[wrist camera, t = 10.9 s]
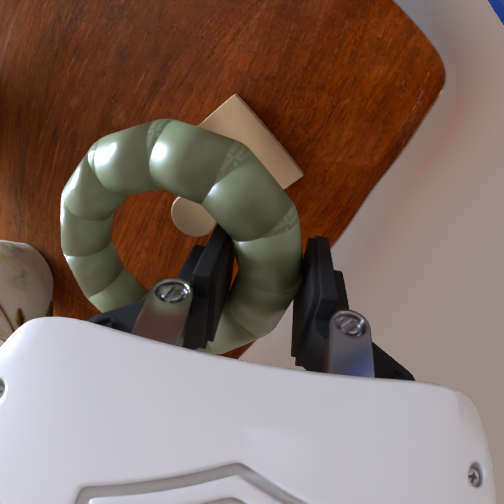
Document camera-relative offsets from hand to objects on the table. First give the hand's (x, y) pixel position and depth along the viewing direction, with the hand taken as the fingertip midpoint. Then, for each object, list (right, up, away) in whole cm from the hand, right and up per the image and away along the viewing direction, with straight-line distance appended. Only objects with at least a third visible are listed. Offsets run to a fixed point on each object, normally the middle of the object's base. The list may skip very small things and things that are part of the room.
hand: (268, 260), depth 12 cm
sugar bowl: (-31, -2, +21) cm, 38 cm away
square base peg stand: (-2, +7, +11) cm, 13 cm away
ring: (-4, 0, -1) cm, 4 cm away
